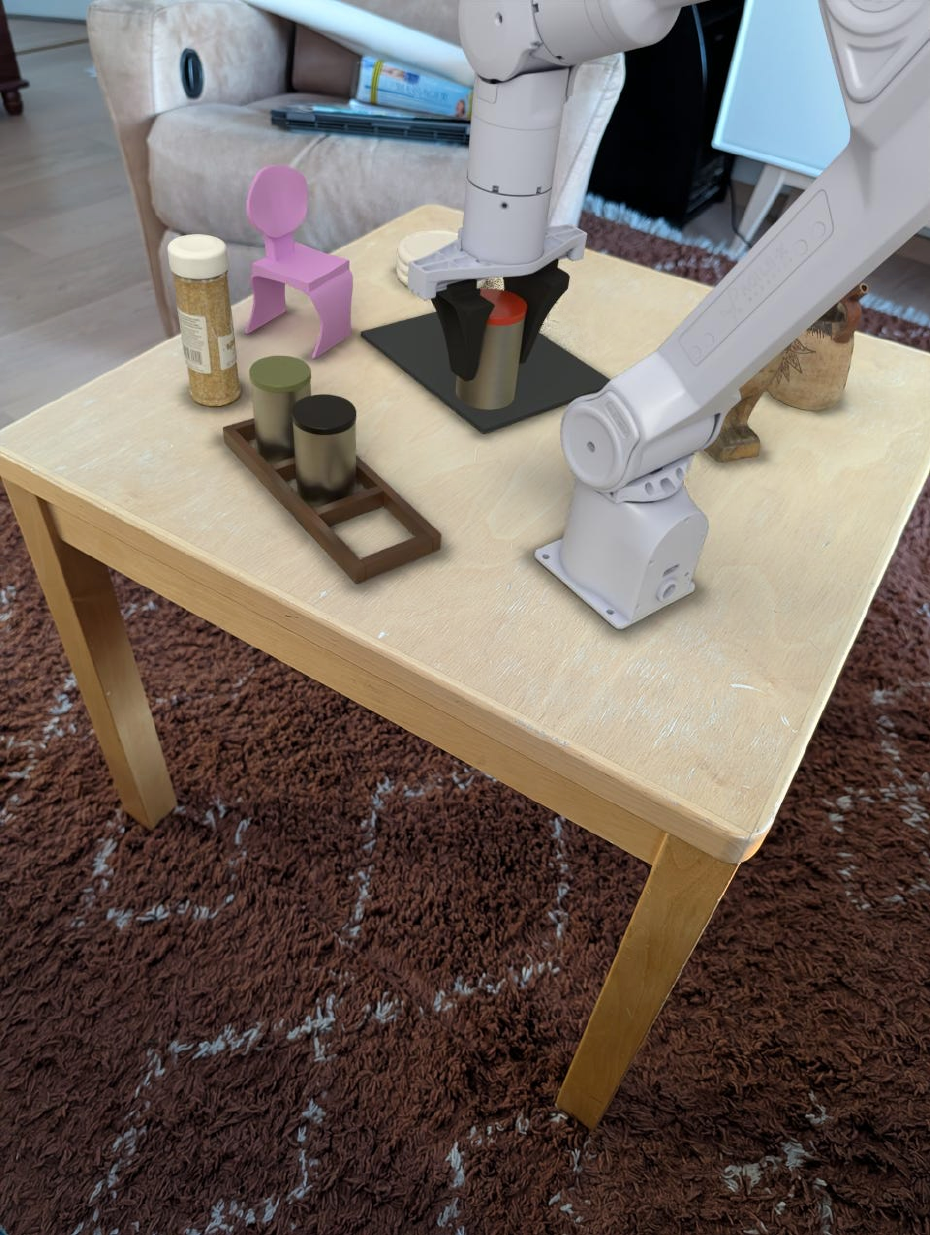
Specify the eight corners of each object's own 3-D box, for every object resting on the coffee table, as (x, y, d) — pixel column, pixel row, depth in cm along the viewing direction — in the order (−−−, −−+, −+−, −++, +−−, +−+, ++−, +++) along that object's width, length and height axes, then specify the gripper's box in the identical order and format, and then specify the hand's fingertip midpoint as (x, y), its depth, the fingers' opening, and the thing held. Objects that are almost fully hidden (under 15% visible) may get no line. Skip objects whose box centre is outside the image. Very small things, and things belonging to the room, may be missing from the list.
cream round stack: (432, 251, 107) (434, 220, 105) (503, 278, 103) (507, 247, 101) (377, 277, 101) (378, 245, 98) (450, 307, 97) (453, 275, 95)
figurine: (812, 371, 94) (857, 254, 85) (853, 408, 89) (904, 288, 81) (751, 377, 92) (791, 258, 83) (790, 415, 87) (836, 293, 79)
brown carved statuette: (750, 477, 83) (849, 314, 69) (696, 482, 82) (785, 316, 67) (701, 387, 90) (782, 218, 75) (650, 390, 88) (722, 219, 73)
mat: (614, 387, 88) (615, 382, 88) (483, 434, 81) (483, 429, 80) (487, 302, 99) (487, 297, 99) (360, 336, 91) (360, 331, 91)
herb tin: (324, 457, 76) (322, 376, 71) (273, 474, 74) (267, 392, 69) (296, 430, 79) (292, 349, 73) (246, 445, 76) (238, 364, 71)
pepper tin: (368, 499, 73) (368, 417, 67) (315, 518, 70) (312, 435, 65) (336, 469, 75) (335, 387, 70) (285, 487, 73) (279, 404, 68)
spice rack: (440, 549, 69) (441, 534, 68) (356, 584, 65) (356, 568, 64) (302, 418, 80) (301, 403, 79) (223, 442, 77) (222, 427, 75)
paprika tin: (527, 400, 72) (540, 309, 67) (479, 416, 70) (489, 323, 64) (489, 372, 74) (499, 283, 69) (443, 388, 72) (449, 296, 67)
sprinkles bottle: (250, 400, 81) (235, 250, 72) (200, 413, 79) (179, 260, 70) (229, 376, 84) (212, 228, 75) (180, 388, 82) (157, 236, 73)
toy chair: (312, 365, 86) (306, 201, 76) (237, 337, 89) (221, 175, 79) (361, 331, 92) (362, 174, 81) (290, 306, 95) (281, 150, 84)
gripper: (551, 146, 66) (527, 322, 76) (384, 176, 59) (380, 366, 69) (619, 179, 63) (585, 360, 72) (449, 215, 56) (435, 410, 65)
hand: (488, 366), depth 70 cm, fingers closed on paprika tin, 4 cm apart
